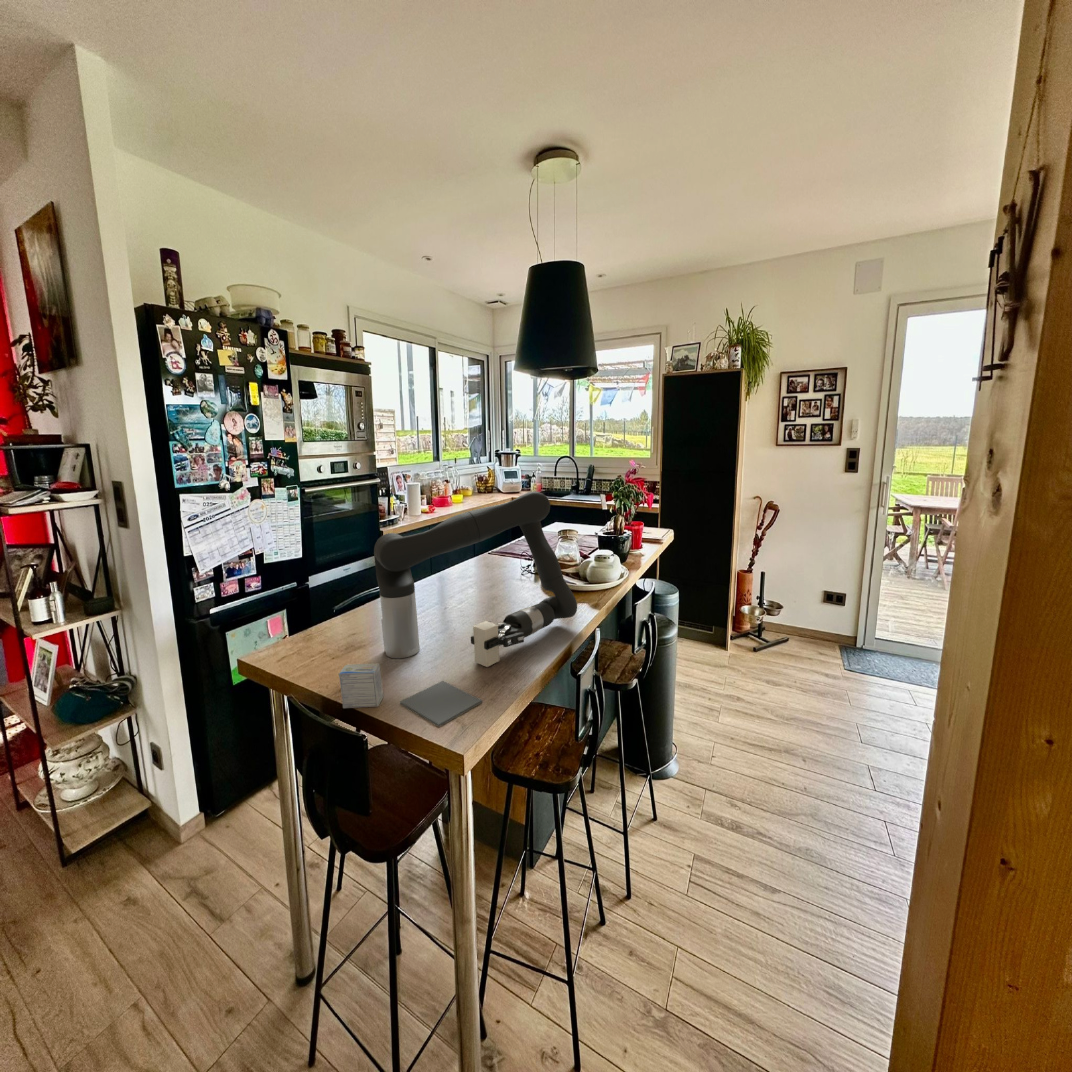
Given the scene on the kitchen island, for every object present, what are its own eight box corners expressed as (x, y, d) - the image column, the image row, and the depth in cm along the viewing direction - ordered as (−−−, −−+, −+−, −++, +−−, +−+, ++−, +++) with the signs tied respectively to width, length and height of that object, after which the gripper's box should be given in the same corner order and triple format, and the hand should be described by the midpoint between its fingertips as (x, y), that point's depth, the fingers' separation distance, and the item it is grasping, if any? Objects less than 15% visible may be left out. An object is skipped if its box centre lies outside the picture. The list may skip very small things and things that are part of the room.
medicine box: (383, 697, 113) (380, 662, 111) (378, 707, 109) (374, 671, 107) (349, 698, 113) (345, 663, 111) (342, 709, 108) (338, 673, 106)
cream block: (475, 662, 128) (473, 626, 126) (487, 655, 131) (485, 620, 129) (486, 667, 125) (484, 630, 123) (499, 660, 128) (497, 624, 126)
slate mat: (400, 703, 110) (400, 701, 110) (442, 682, 118) (442, 680, 118) (438, 727, 101) (438, 724, 100) (482, 702, 109) (481, 700, 109)
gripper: (505, 605, 141) (459, 623, 128) (542, 616, 132) (497, 636, 119) (506, 629, 142) (460, 649, 130) (543, 642, 133) (498, 665, 121)
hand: (478, 643), depth 125 cm, fingers closed on cream block, 4 cm apart
